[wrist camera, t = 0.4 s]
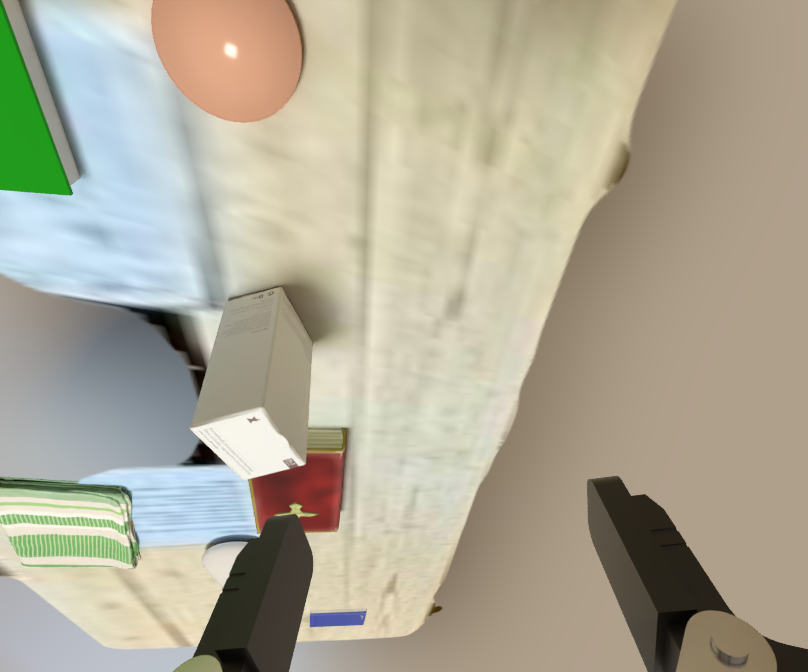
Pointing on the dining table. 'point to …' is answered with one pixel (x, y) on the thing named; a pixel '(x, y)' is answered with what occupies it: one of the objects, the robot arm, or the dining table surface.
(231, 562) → the flower in vase
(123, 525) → the dish towel
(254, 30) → the terracotta coaster
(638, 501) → the robot arm
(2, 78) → the book
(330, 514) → the hardcover book
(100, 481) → the dining table surface
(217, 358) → the skincare box
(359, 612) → the hard drive
